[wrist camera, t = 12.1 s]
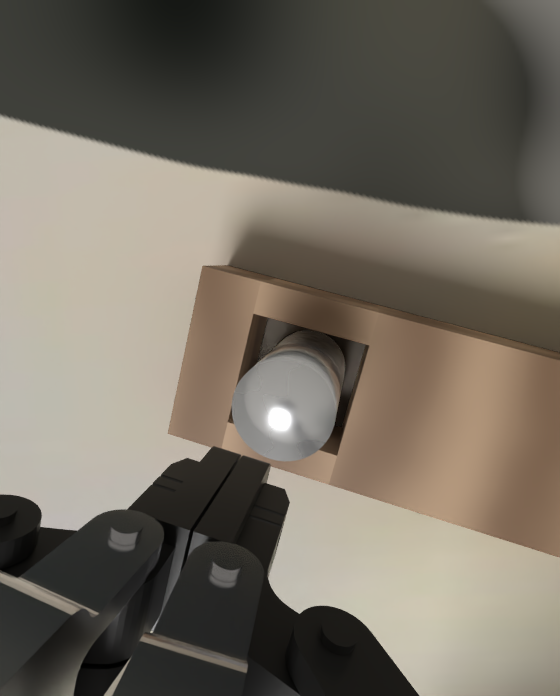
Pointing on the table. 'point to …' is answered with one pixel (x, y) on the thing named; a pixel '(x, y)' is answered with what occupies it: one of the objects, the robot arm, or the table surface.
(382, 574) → the table surface
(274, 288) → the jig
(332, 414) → the brushed metal cylinder
